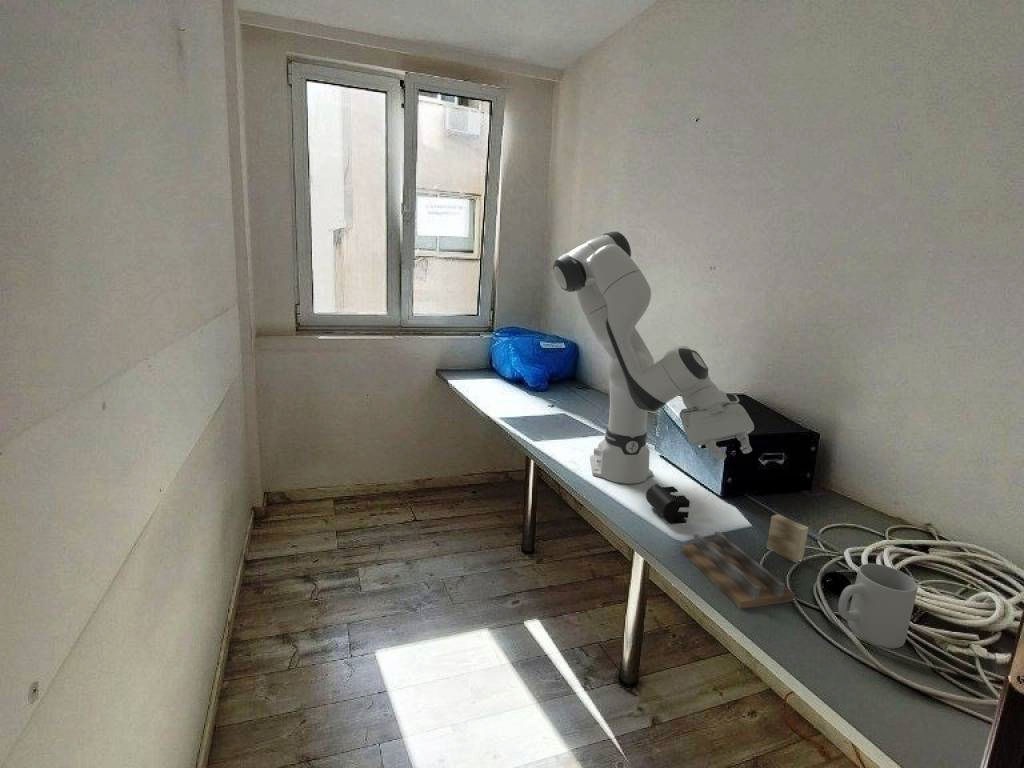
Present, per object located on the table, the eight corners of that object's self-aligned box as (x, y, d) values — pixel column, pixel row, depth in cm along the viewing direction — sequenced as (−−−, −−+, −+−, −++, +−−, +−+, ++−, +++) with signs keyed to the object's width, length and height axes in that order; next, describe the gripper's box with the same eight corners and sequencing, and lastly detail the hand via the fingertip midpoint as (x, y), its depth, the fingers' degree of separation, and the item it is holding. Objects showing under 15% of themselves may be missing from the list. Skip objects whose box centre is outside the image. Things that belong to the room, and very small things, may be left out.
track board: (681, 551, 114) (683, 535, 113) (727, 546, 117) (729, 530, 116) (740, 608, 95) (743, 590, 94) (793, 600, 98) (797, 582, 97)
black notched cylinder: (644, 507, 135) (646, 483, 134) (668, 506, 137) (671, 482, 135) (661, 526, 126) (664, 500, 124) (688, 524, 127) (691, 499, 125)
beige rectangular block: (766, 548, 117) (771, 516, 115) (772, 545, 118) (777, 514, 116) (796, 563, 111) (802, 530, 109) (802, 560, 113) (808, 527, 111)
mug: (878, 614, 95) (890, 562, 93) (917, 648, 87) (932, 591, 84) (818, 616, 94) (828, 563, 92) (852, 650, 86) (865, 593, 83)
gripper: (685, 403, 118) (715, 456, 112) (741, 394, 129) (771, 442, 123) (668, 416, 123) (697, 468, 117) (723, 407, 133) (752, 454, 127)
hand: (735, 455), depth 120 cm, fingers open, 8 cm apart
